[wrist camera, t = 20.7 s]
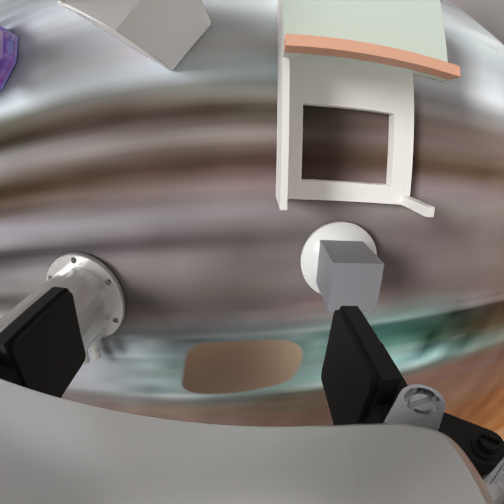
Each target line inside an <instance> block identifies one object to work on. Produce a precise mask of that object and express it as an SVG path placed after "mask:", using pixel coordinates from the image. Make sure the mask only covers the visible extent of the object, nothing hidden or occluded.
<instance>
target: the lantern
mask: <svg viewBox="0 0 504 504" xmlns="http://www.w3.org/2000/svg"><path fill="white" fill-rule="evenodd" d="M17 44H18V36H16V35H15V34H13V33H12V32H10V31H8V30H7V29H5V28H3V27H1V26H0V89H2V88H3V87H4V85H5V83H6V81H7V79H8V77H9V75H10V73H11V71H12V69H13V67H14V65H15V64H16V62H17Z"/></svg>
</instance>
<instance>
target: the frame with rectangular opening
mask: <svg viewBox="0 0 504 504" xmlns="http://www.w3.org/2000/svg"><path fill="white" fill-rule="evenodd" d="M277 9H278V102H277V168H276V198H277V202H278V205H279V208H280V210H287V199H307V200H332V201H352V202H370V203H385V204H399V205H403V206H405V207H407V208H409V209H411V210H413V211H415V212H417V213H419V214H421V215H423V216H425V217H434V209H435V207H433V206H431V205H429V204H426V203H424V202H422V201H419V200H417V199H415V198H412V197H410V189H411V177H412V162H413V142H414V78H413V74H409V73H404V72H400V71H395V70H390V69H384V68H379V67H373V66H367V65H361V64H354V63H346V62H338V61H330V60H320V59H308V58H293V57H283V37H282V0H277ZM303 105H305V106H320V107H332V108H342V109H351V110H360V111H368V112H375V113H382V114H389V139H388V162H387V178H386V184H380V183H368V182H354V181H338V180H320V179H301V177H302V142H303Z"/></svg>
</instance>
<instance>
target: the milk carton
mask: <svg viewBox="0 0 504 504" xmlns="http://www.w3.org/2000/svg"><path fill="white" fill-rule="evenodd" d="M58 3H59V4H61V5H62V6H64V7H66V8H68V9H69V10H71V11H73V12H75V13H76V14H78V15H80V16H81V17H83V18H85V19H87V20H88V21H90V22H92V23H93V24H95V25H96V26H98V27H100V28H101V29H103V30H104V31H106V32H108V33H109V34H111V35H112V36H114V37H115V38H117V39H119V40H120V41H122V42H123V43H125V44H126V45H128V46H130V47H131V48H133V49H135V50H137V51H138V52H140V53H142V54H144V55H145V56H147V57H149V58H150V59H152V60H154V61H155V62H157V63H159V64H160V65H162V66H164V67H165V68H167V69H168V70H170V71H173V70H174V68H175V67H176V66H177V65H178V63H179V62H180V61H181V60H182V58H183V57H184V56H185V55H186V54H187V52H188V51H189V50H190V49H191V48H192V46H193V45H194V44H195V43H196V42H197V40H198V39H199V38H200V37H201V36H202V35H203V34H204V32H205V31H206V30H207V29H208V28H209V27H210V25H211V24H212V23H211V20H210V18H209V16H208V13H207V11H206V9H205V7H204V4H203V2H202V0H59V1H58Z"/></svg>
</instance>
